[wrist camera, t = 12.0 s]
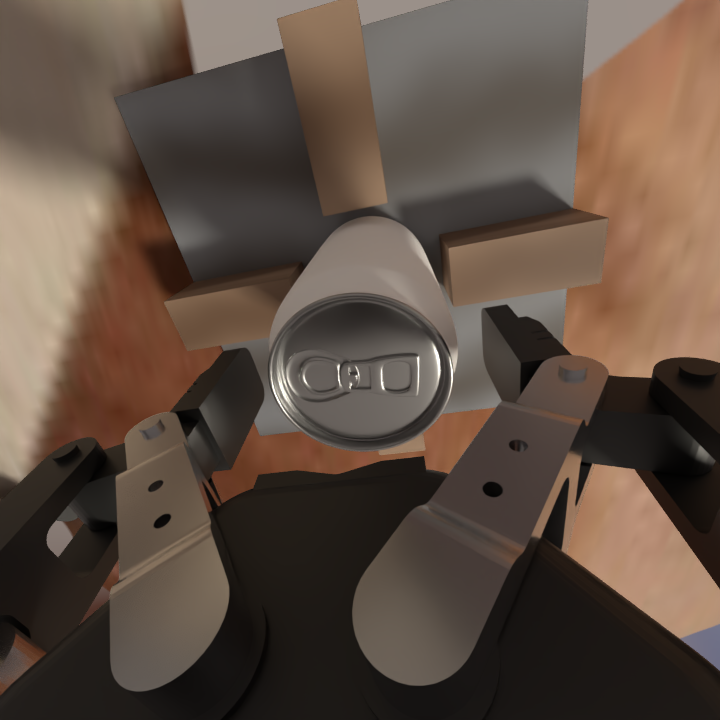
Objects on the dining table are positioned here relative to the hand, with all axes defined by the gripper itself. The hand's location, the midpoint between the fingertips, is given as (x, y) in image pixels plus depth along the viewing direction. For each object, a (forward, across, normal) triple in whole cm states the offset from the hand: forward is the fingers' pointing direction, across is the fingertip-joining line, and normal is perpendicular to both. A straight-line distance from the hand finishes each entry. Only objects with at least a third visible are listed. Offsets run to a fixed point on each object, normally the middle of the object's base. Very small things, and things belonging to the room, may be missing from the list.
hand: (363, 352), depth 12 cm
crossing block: (+11, 0, 0) cm, 11 cm away
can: (+10, 0, 0) cm, 11 cm away
